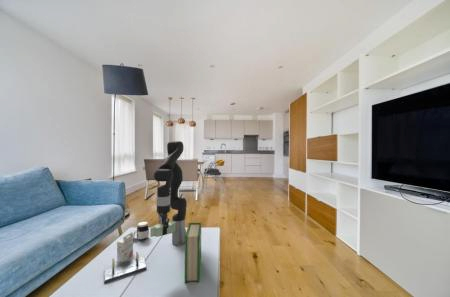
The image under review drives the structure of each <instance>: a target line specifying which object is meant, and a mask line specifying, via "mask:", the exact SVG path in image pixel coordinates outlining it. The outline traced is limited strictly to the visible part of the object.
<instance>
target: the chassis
mask: <svg viewBox="0 0 450 297" xmlns="http://www.w3.org/2000/svg"><path fill="white" fill-rule="evenodd" d="M111 262H112V263H111V265H108V266H106V267H104V269H103V270H104V284H107V283H110V282H112V281H117V280H119V279H121V278H122V279H123V278H125V277H127V276H131V275H135V274H136V273H139V272H143V271H146V270H147V265H146V262H145V260H144V257H143V256H140V255H139V251H136V252H135V258H133V259H129V260H127V261H126V260H125V261H122V262H120V263H116V262H115V258H112V261H111Z"/></svg>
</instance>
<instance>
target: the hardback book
mask: <svg viewBox="0 0 450 297" xmlns="http://www.w3.org/2000/svg"><path fill="white" fill-rule="evenodd" d="M201 264H202V222H188V225H187V229H186V235H185V243H184V284H186V283H187V282H190V281H196V282H197V283H198V284H199V283H200V276H201V268H202V266H201Z"/></svg>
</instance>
